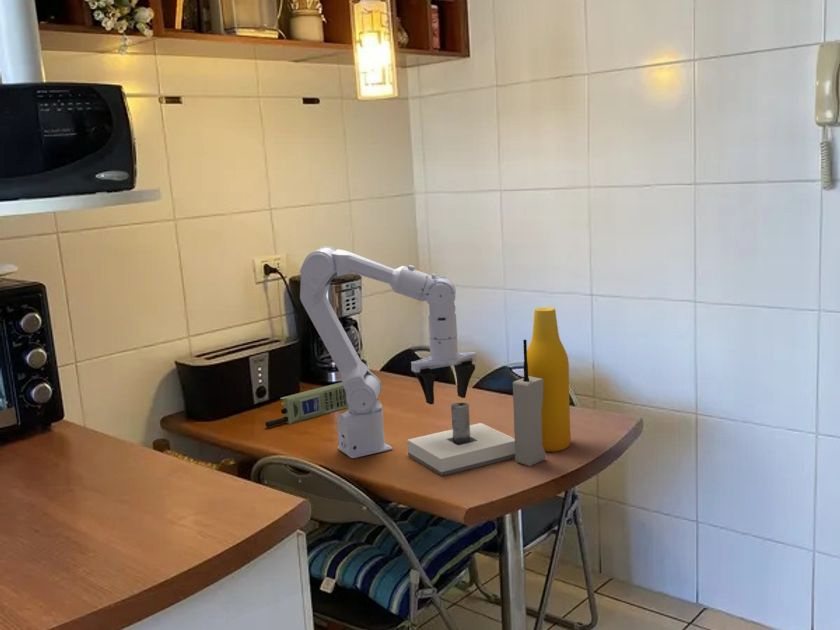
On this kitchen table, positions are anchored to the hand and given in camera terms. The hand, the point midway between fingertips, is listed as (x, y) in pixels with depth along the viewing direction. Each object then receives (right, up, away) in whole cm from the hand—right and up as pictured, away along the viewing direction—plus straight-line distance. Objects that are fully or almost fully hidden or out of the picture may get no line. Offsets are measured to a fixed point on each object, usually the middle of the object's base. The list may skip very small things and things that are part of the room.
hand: (446, 400), depth 176 cm
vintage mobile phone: (+17, -12, -9) cm, 22 cm away
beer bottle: (+22, -10, 0) cm, 24 cm away
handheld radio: (-32, -7, +29) cm, 44 cm away
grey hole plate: (+3, -11, -4) cm, 12 cm away
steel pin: (+3, -10, -4) cm, 12 cm away
